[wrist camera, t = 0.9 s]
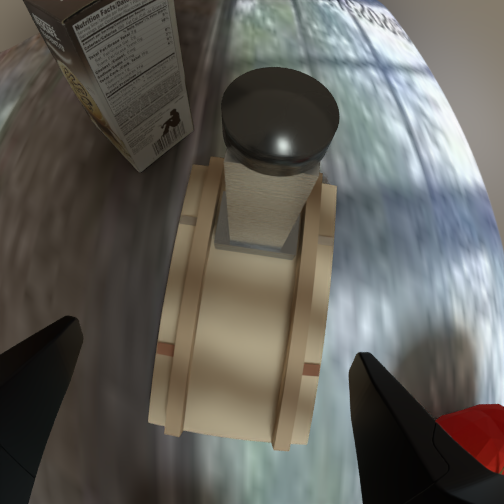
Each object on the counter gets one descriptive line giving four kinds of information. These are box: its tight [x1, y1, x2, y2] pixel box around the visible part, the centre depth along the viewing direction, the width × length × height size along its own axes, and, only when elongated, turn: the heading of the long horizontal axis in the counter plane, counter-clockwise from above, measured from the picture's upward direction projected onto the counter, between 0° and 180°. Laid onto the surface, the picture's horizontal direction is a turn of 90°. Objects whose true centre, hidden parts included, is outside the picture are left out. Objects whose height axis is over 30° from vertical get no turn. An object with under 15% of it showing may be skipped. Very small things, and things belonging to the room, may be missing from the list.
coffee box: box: [23, 0, 194, 172], centre depth 18 cm, size 9×6×16 cm
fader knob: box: [214, 67, 339, 260], centre depth 16 cm, size 4×5×13 cm
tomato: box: [435, 404, 504, 475], centre depth 15 cm, size 11×13×10 cm
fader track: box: [148, 157, 337, 451], centre depth 21 cm, size 19×11×3 cm, turn 172°
